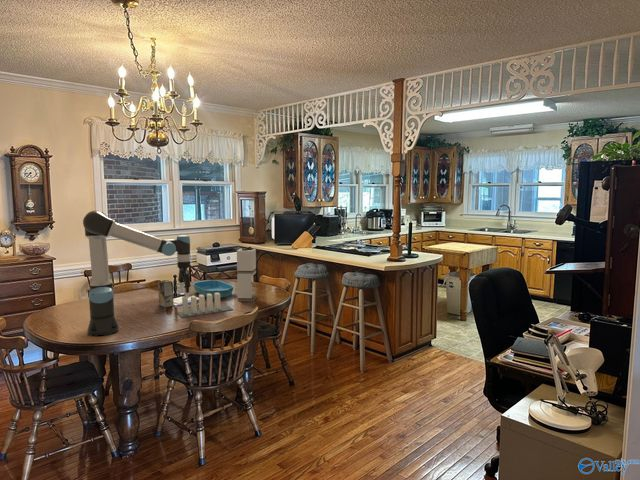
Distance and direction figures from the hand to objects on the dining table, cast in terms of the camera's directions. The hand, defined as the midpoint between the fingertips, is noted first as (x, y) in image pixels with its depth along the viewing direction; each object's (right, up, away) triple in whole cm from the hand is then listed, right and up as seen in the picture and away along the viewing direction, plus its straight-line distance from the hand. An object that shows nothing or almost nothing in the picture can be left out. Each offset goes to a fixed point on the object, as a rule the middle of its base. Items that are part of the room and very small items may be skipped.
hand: (184, 295), depth 259 cm
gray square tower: (+32, -8, +38) cm, 50 cm away
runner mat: (+11, -11, +8) cm, 17 cm away
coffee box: (-19, -10, +22) cm, 31 cm away
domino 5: (+18, -10, +12) cm, 23 cm away
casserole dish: (+4, -6, +53) cm, 54 cm away
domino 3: (+9, -11, +7) cm, 15 cm away
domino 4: (+13, -10, +9) cm, 19 cm away
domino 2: (+5, -11, +4) cm, 13 cm away
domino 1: (0, -11, +2) cm, 12 cm away
